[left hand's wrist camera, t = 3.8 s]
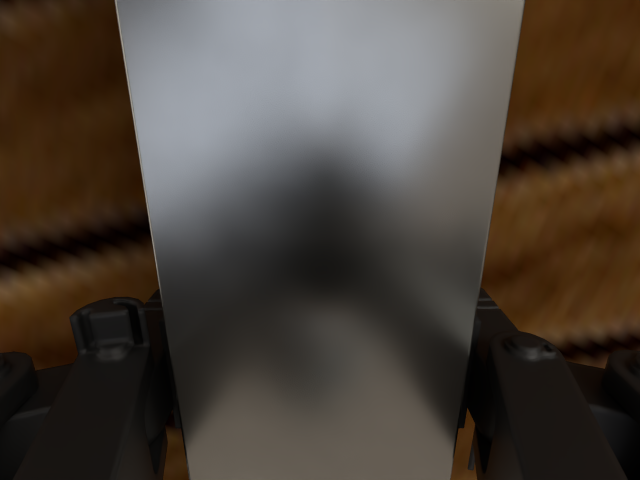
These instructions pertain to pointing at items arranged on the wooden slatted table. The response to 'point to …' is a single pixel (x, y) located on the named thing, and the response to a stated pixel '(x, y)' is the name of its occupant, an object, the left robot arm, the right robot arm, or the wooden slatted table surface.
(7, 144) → the wooden slatted table surface
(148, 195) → the bar
